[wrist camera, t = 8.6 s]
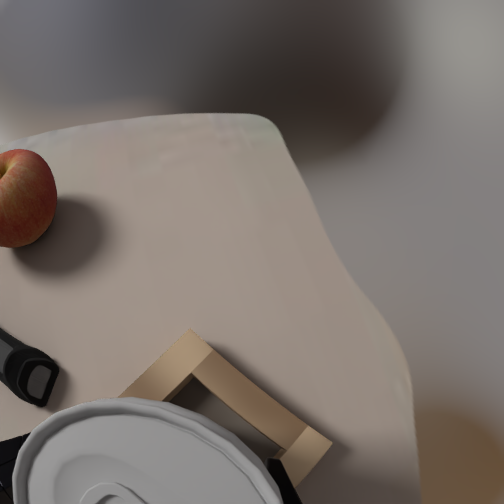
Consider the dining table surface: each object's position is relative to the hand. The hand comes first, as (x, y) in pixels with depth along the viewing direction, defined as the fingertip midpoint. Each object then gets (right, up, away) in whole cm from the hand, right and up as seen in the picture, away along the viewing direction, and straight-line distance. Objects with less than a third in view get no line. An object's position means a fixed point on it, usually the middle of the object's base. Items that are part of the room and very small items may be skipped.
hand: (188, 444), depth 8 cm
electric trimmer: (-18, -1, +8) cm, 20 cm away
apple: (-17, +8, +13) cm, 23 cm away
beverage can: (-1, -5, +5) cm, 7 cm away
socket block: (-1, -5, +6) cm, 8 cm away
